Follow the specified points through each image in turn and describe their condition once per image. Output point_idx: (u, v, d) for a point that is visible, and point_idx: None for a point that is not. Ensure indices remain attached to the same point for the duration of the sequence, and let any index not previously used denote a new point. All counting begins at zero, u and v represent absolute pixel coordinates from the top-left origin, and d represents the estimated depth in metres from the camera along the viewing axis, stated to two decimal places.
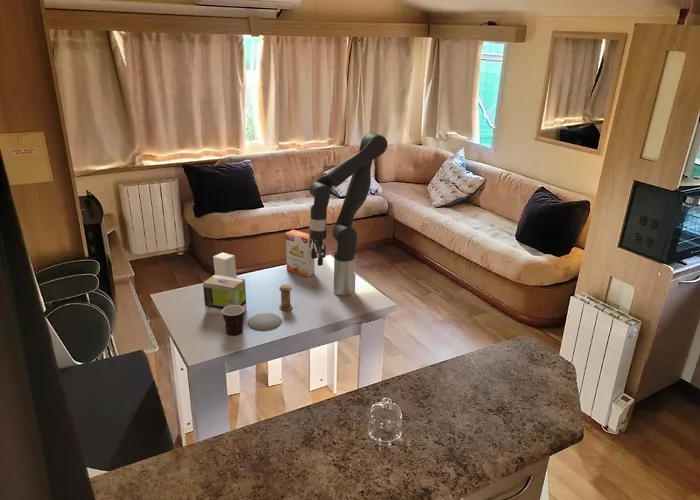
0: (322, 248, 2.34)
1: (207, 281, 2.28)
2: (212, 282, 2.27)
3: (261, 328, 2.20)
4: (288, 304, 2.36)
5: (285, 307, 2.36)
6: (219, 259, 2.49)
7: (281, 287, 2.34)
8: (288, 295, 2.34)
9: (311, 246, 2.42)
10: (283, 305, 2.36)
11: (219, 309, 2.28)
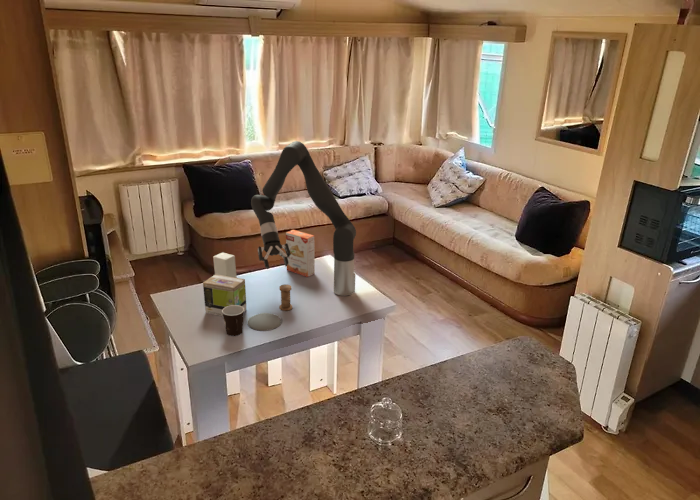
0: (258, 250, 2.43)
1: (207, 281, 2.28)
2: (212, 282, 2.27)
3: (261, 328, 2.20)
4: (288, 304, 2.36)
5: (285, 307, 2.36)
6: (219, 259, 2.49)
7: (281, 287, 2.34)
8: (288, 295, 2.34)
9: (279, 254, 2.47)
10: (283, 305, 2.36)
11: (219, 309, 2.28)
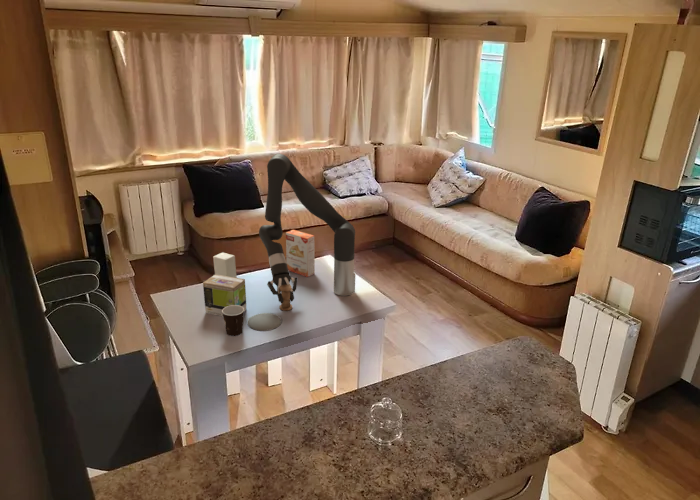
0: (268, 285, 2.36)
1: (207, 281, 2.28)
2: (212, 282, 2.27)
3: (261, 328, 2.20)
4: (288, 304, 2.36)
5: (285, 307, 2.36)
6: (219, 259, 2.49)
7: (281, 287, 2.34)
8: (288, 295, 2.34)
9: None
10: (283, 305, 2.36)
11: (219, 309, 2.28)
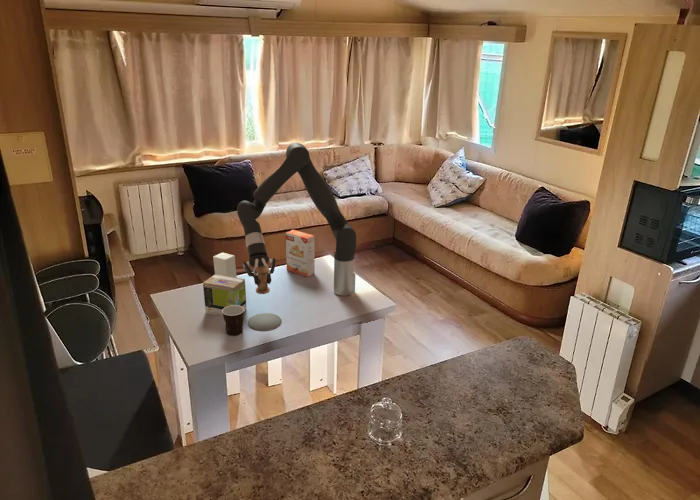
0: (244, 266, 2.19)
1: (207, 281, 2.28)
2: (212, 282, 2.27)
3: (261, 328, 2.20)
4: (265, 287, 2.19)
5: (262, 290, 2.19)
6: (219, 259, 2.49)
7: (257, 268, 2.17)
8: (265, 277, 2.18)
9: None
10: (259, 288, 2.19)
11: (219, 309, 2.28)
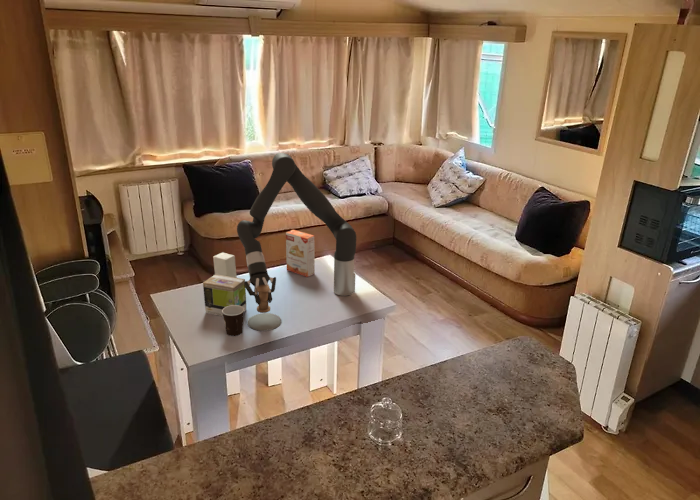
0: (245, 286, 2.21)
1: (207, 281, 2.28)
2: (212, 282, 2.27)
3: (261, 328, 2.20)
4: (266, 306, 2.22)
5: (263, 309, 2.22)
6: (219, 259, 2.49)
7: (258, 287, 2.20)
8: (266, 296, 2.20)
9: None
10: (260, 307, 2.21)
11: (219, 309, 2.28)
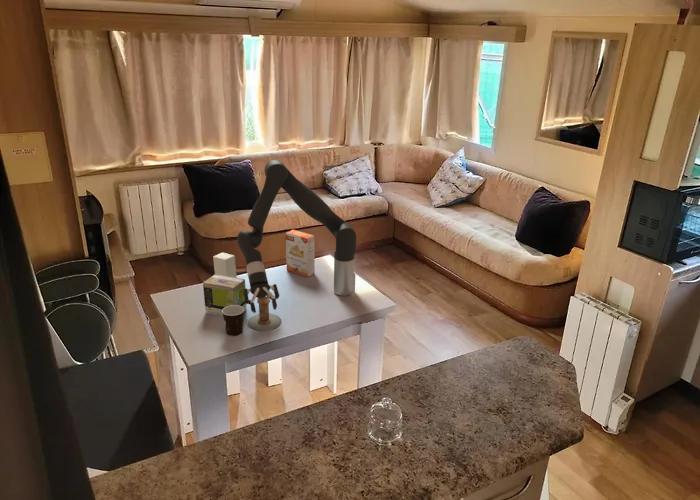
0: (244, 293, 2.23)
1: (207, 281, 2.28)
2: (212, 282, 2.27)
3: (261, 328, 2.20)
4: (266, 317, 2.24)
5: (263, 320, 2.24)
6: (219, 259, 2.49)
7: (259, 299, 2.22)
8: (266, 308, 2.22)
9: None
10: (261, 318, 2.24)
11: (219, 309, 2.28)
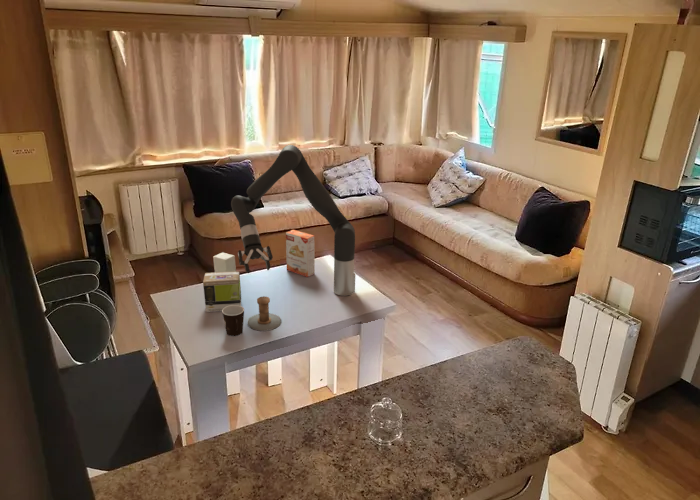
0: (238, 254, 2.32)
1: (206, 280, 2.29)
2: (212, 279, 2.29)
3: (261, 328, 2.20)
4: (266, 317, 2.24)
5: (263, 320, 2.24)
6: (219, 259, 2.49)
7: (259, 299, 2.22)
8: (266, 308, 2.22)
9: (261, 258, 2.36)
10: (261, 318, 2.24)
11: (222, 304, 2.32)
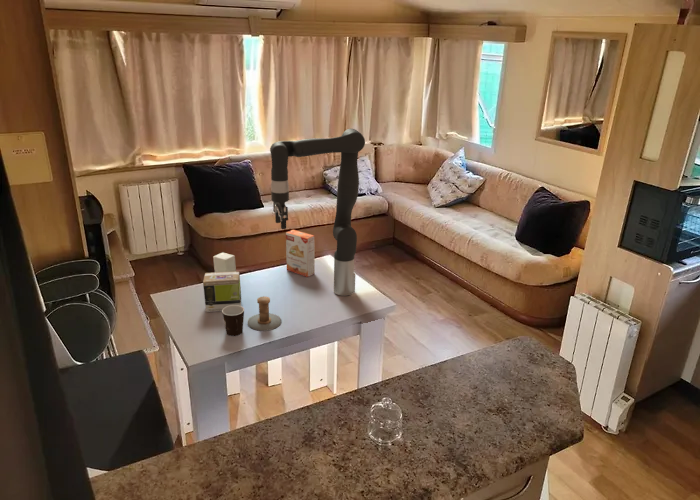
0: (284, 210, 2.27)
1: (206, 280, 2.29)
2: (212, 279, 2.29)
3: (261, 328, 2.20)
4: (266, 317, 2.24)
5: (263, 320, 2.24)
6: (219, 259, 2.49)
7: (259, 299, 2.22)
8: (266, 308, 2.22)
9: (274, 210, 2.36)
10: (261, 318, 2.24)
11: (222, 304, 2.32)
